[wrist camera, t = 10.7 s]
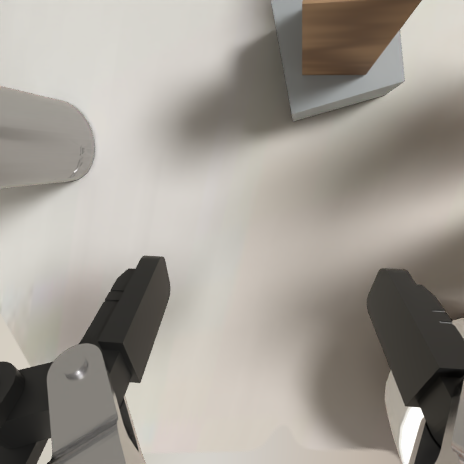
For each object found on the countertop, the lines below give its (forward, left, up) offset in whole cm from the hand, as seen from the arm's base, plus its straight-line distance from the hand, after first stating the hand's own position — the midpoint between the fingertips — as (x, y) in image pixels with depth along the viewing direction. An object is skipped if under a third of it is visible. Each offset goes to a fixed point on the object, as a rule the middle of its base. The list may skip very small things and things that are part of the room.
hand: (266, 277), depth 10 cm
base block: (-5, +12, -19) cm, 23 cm away
